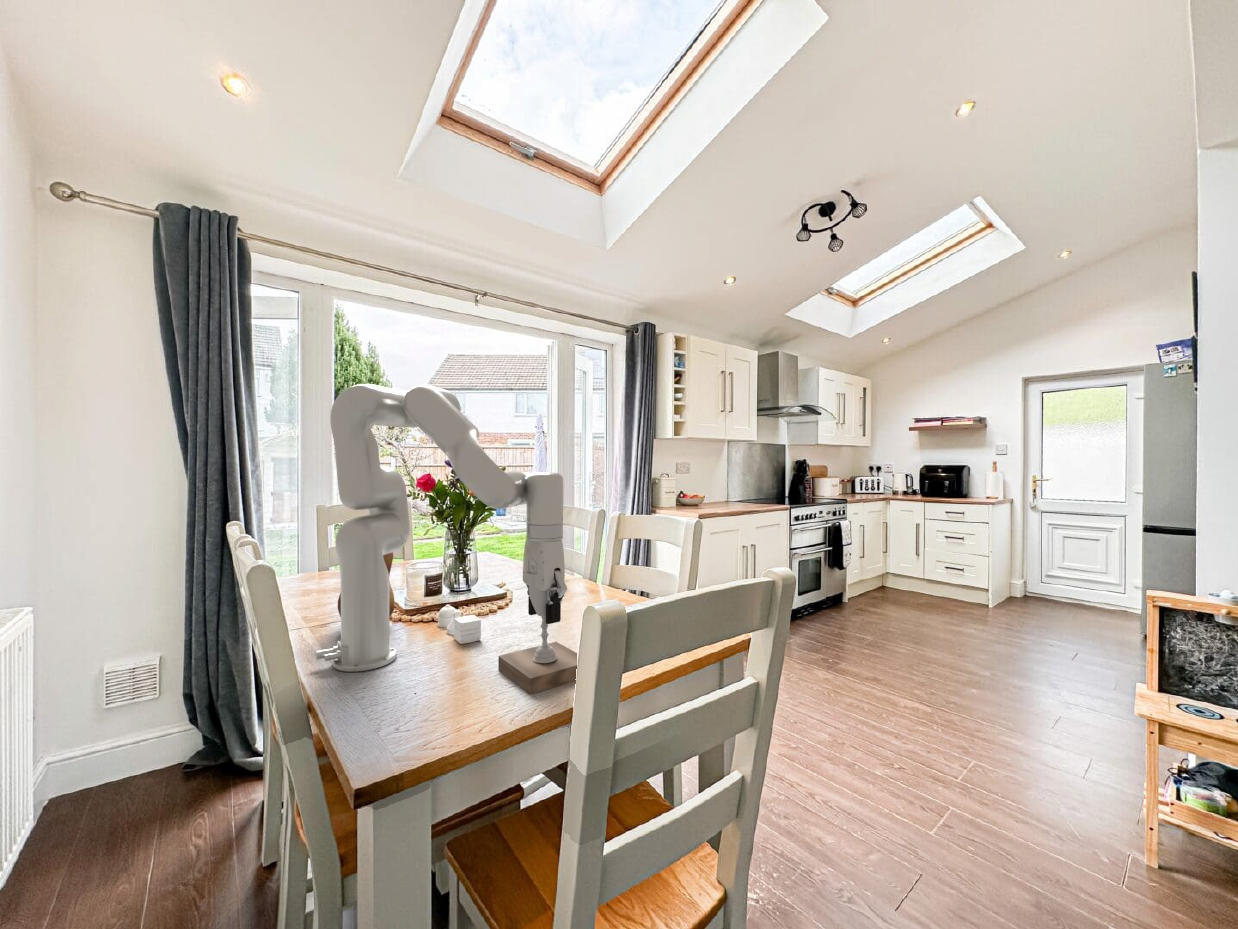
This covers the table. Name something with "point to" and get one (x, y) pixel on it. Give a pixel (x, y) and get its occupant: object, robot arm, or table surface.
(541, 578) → the robot arm
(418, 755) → the table surface
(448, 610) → the container set
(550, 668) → the walnut plinth
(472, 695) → the table surface
